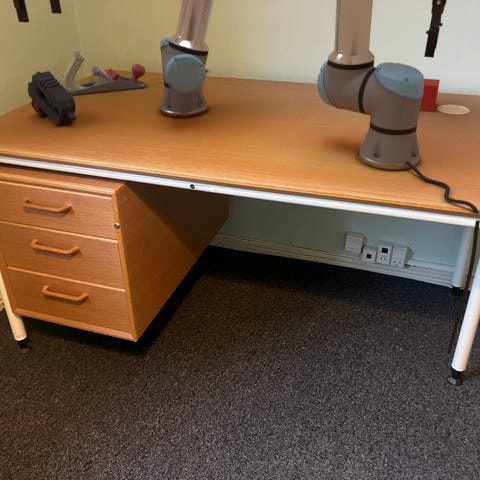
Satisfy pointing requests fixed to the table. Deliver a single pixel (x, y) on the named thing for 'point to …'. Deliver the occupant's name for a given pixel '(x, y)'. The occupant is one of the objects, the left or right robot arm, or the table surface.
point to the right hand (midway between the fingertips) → (430, 52)
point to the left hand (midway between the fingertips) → (41, 17)
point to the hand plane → (100, 78)
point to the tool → (51, 98)
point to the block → (429, 94)
